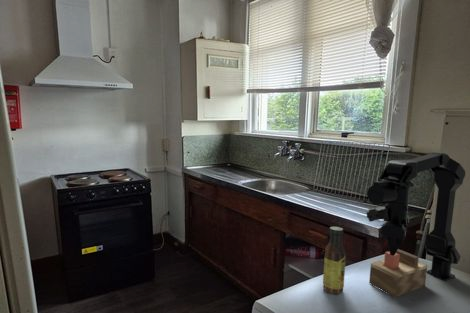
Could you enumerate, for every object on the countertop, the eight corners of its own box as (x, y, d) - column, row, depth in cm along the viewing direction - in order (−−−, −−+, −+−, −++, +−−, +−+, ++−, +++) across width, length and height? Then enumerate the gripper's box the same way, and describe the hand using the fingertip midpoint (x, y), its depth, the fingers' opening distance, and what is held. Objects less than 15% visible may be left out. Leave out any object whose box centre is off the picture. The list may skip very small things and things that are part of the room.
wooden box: (399, 273, 108) (400, 257, 107) (425, 285, 100) (426, 268, 99) (369, 283, 100) (370, 266, 99) (394, 297, 92) (396, 278, 91)
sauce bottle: (344, 296, 92) (349, 233, 90) (323, 293, 93) (327, 231, 91) (341, 285, 98) (345, 226, 96) (321, 283, 99) (325, 224, 97)
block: (389, 274, 100) (391, 250, 99) (397, 278, 97) (399, 254, 96) (383, 276, 98) (385, 252, 97) (391, 280, 95) (393, 255, 95)
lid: (400, 257, 107) (401, 246, 106) (426, 268, 99) (428, 256, 99) (370, 265, 99) (371, 254, 99) (396, 278, 91) (397, 265, 91)
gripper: (374, 192, 105) (371, 235, 107) (364, 203, 90) (360, 253, 92) (410, 197, 99) (407, 242, 101) (406, 209, 84) (402, 263, 86)
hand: (393, 249), depth 95 cm, fingers open, 9 cm apart
